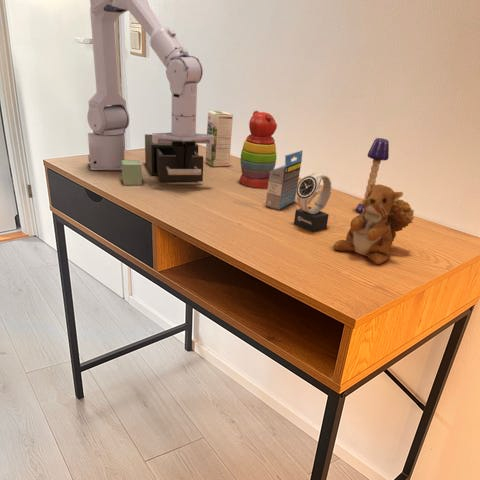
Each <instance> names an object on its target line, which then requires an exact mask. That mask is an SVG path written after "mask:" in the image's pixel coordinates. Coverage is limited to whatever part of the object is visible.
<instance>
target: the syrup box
mask: <svg viewBox="0 0 480 480" xmlns="http://www.w3.org/2000/svg"><path fill="white" fill-rule="evenodd" d="M233 119H234V114H231V113H229V112H227V111H224V110H208V111H207V124H206V125H207V126H206V134H209V135H213V136H214V144H205V163H207V164H208V165H209V166H211V167H230V160H231V147H232V146H231V145H232V134H233V133H232V132H233V121H234V120H233Z"/></svg>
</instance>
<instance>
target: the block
mask: <svg viewBox="0 0 480 480" xmlns="http://www.w3.org/2000/svg"><path fill="white" fill-rule="evenodd" d="M121 161H122V170H121V180H122V183H123V185H124V186H142V185H143V170H142V163H141V161H140V159H125V160H121Z"/></svg>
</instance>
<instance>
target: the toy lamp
mask: <svg viewBox="0 0 480 480" xmlns="http://www.w3.org/2000/svg"><path fill="white" fill-rule="evenodd" d="M389 152H390V141H389V140H388V139H386V138H380V137H375V138H374V140H373V143H372V145H371V146H370V148H369V150H368V153H367V157H368V158H369V159H371V160H372V165H371V167H370V172H369V178H368V180H367V185H366V188H365V191H364V198H363V200H366V197H367V195H368V193H369V191H370V183H371V182H374V183H375V184H377V183H376V182H377V177H378V172H379V170H380V165H381V161H388V160H389V156H390V155H389V154H390V153H389ZM363 200H362V201H363ZM363 203H364V201H363V202H361V203H360V204H359V203H358V204H359V206H357V205H356V208H355V211H356V212H357V213H359V214H360V215H361V214H362V212H363V211H364V210H366V209H365V204H364V205H363V206H362V204H363ZM361 206H362V208H361ZM360 208H361V210H359V209H360Z"/></svg>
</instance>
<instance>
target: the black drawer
mask: <svg viewBox="0 0 480 480" xmlns="http://www.w3.org/2000/svg"><path fill="white" fill-rule="evenodd" d="M154 168H155V170H156V172H157V173H158V176H157V180H158V182H161V183H162V182H164V183H165V182H166V183H167V182H169V183H170V182H172V183H173V182H176V183H177V182H203V181H204V156H203V155H199V152H198V153H197V152H196V151H195V152H194V153H193V155H192V157H191V160H190V162H189V165H188V169H179V165H178V161H177V158H176V155H175V152H174V149H173V148H154Z"/></svg>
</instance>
